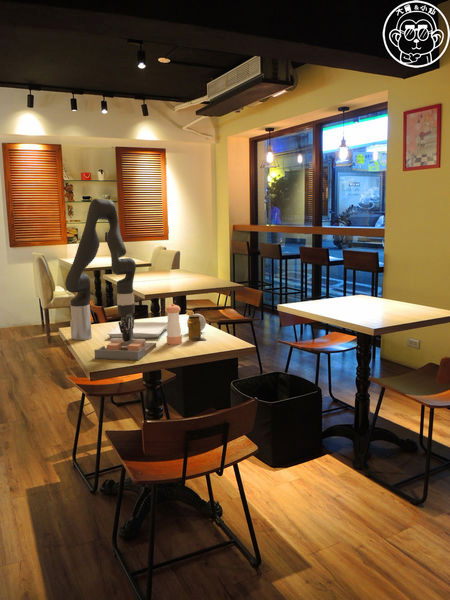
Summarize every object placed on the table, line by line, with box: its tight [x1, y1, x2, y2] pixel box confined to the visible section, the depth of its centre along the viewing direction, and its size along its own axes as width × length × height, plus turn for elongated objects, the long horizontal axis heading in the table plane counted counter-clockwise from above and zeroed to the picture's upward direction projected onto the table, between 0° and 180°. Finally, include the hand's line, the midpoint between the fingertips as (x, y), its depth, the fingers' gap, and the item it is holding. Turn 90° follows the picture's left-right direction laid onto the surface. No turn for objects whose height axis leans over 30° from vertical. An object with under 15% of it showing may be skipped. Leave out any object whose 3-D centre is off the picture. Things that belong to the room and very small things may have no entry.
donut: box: [186, 313, 207, 332], centre depth 274 cm, size 10×3×10 cm, turn 107°
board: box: [105, 342, 157, 356], centre depth 241 cm, size 20×14×2 cm
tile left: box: [106, 341, 122, 350], centre depth 236 cm, size 5×5×2 cm
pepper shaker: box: [165, 303, 183, 346], centre depth 252 cm, size 7×7×19 cm
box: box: [94, 345, 146, 362], centre depth 230 cm, size 20×9×4 cm, turn 78°
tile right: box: [128, 343, 143, 351], centre depth 234 cm, size 5×5×2 cm
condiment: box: [186, 314, 207, 342], centre depth 258 cm, size 7×8×12 cm
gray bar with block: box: [110, 328, 147, 347], centre depth 238 cm, size 16×3×8 cm, turn 78°
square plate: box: [107, 321, 168, 339], centre depth 275 cm, size 27×27×4 cm
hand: (127, 340), depth 238 cm, fingers closed on gray bar with block, 3 cm apart
